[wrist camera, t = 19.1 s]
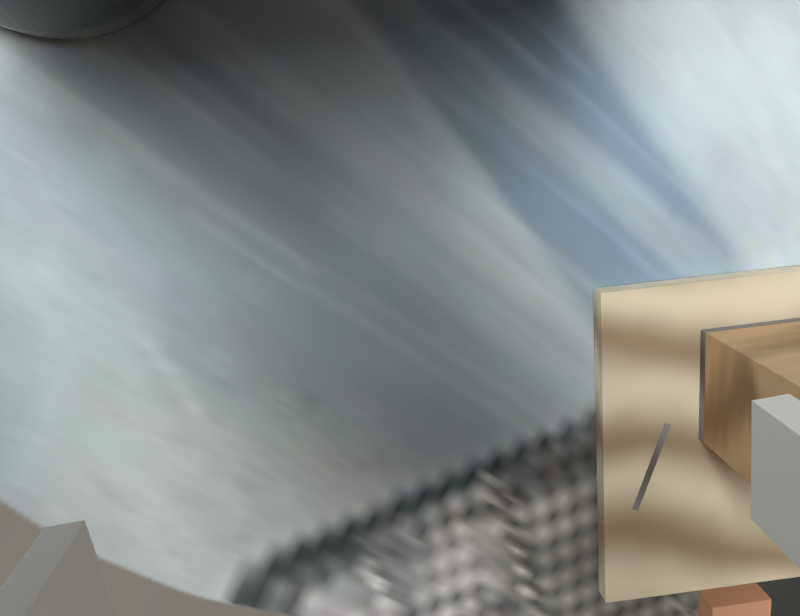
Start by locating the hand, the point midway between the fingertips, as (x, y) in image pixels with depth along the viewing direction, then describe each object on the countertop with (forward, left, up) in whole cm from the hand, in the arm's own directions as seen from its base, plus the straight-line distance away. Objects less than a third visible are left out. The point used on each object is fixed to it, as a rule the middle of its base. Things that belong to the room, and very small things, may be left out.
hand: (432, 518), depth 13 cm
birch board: (+13, +22, -26) cm, 36 cm away
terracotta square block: (+27, +22, -26) cm, 43 cm away
